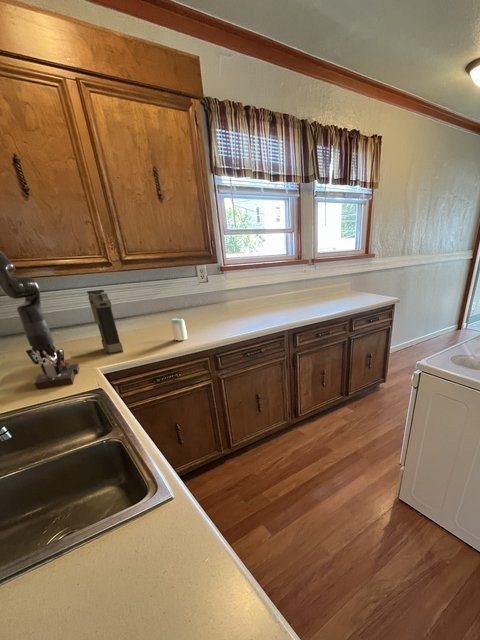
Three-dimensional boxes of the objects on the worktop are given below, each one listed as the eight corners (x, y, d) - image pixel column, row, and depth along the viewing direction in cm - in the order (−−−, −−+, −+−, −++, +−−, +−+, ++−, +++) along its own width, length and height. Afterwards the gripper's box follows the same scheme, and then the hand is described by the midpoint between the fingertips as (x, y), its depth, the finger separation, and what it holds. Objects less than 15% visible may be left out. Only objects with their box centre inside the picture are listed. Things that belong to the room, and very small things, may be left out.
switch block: (45, 379, 137) (41, 370, 135) (47, 372, 144) (44, 364, 142) (78, 374, 142) (75, 365, 140) (79, 368, 149) (76, 359, 147)
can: (172, 339, 189) (169, 318, 184) (184, 337, 193) (181, 316, 187) (176, 342, 184) (173, 321, 179) (189, 340, 188) (185, 319, 182)
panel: (37, 390, 127) (34, 382, 126) (41, 381, 135) (38, 374, 134) (73, 384, 132) (70, 377, 131) (75, 376, 140) (72, 369, 139)
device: (101, 348, 174) (85, 290, 160) (117, 345, 179) (101, 288, 165) (109, 355, 165) (91, 293, 151) (125, 351, 169) (109, 291, 156)
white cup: (55, 378, 130) (50, 364, 128) (45, 378, 131) (40, 364, 128) (63, 373, 134) (58, 360, 132) (53, 373, 134) (48, 360, 132)
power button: (54, 367, 139) (53, 363, 138) (55, 365, 142) (54, 361, 141) (64, 366, 141) (63, 362, 140) (65, 363, 143) (64, 360, 143)
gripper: (62, 329, 127) (76, 370, 135) (27, 329, 128) (43, 370, 136) (48, 335, 121) (64, 377, 128) (11, 335, 121) (29, 377, 129)
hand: (53, 373), depth 132 cm, fingers closed on white cup, 4 cm apart
